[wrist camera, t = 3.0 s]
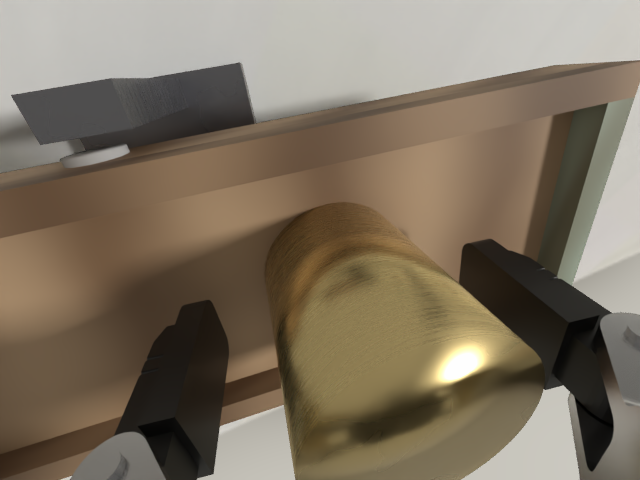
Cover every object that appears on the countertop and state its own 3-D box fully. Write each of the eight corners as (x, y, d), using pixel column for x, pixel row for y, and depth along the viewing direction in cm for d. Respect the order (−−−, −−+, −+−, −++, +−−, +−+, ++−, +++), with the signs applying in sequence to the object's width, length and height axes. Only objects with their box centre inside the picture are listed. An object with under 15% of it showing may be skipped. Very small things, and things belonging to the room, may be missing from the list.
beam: (555, 59, 11) (649, 52, 9) (510, 278, 16) (562, 314, 14) (-640, 288, 7) (-1175, 413, 4) (-190, 492, 12) (-307, 606, 9)
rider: (397, 186, 10) (575, 299, 5) (400, 302, 12) (519, 458, 7) (247, 223, 9) (262, 402, 4) (281, 337, 12) (319, 540, 6)
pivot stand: (241, 63, 15) (220, 50, 8) (296, 288, 21) (310, 390, 14) (72, 92, 14) (-119, 106, 7) (183, 313, 21) (142, 431, 14)
